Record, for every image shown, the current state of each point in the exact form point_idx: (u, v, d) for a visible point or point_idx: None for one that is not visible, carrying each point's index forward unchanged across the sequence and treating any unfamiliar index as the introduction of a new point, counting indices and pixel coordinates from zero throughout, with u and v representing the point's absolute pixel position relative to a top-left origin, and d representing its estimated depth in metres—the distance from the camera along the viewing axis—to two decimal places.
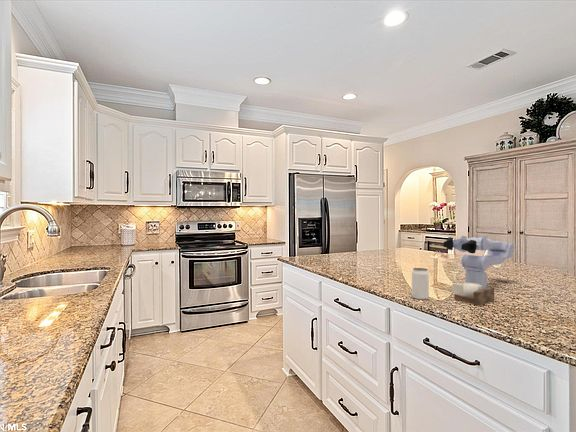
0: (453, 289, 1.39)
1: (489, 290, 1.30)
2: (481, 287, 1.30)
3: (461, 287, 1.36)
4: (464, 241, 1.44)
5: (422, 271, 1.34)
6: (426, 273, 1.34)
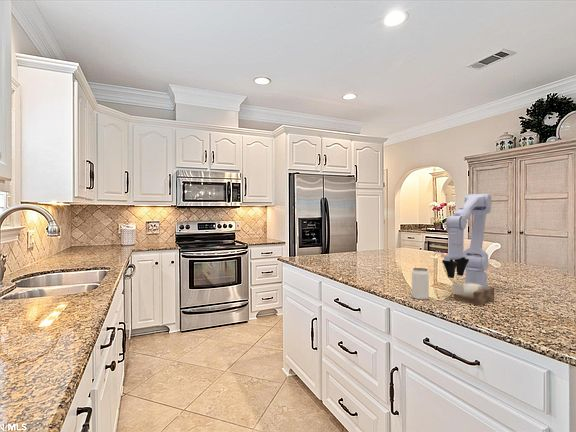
0: (453, 289, 1.39)
1: (489, 290, 1.30)
2: (481, 287, 1.30)
3: (461, 287, 1.36)
4: None
5: (422, 271, 1.34)
6: (426, 273, 1.34)
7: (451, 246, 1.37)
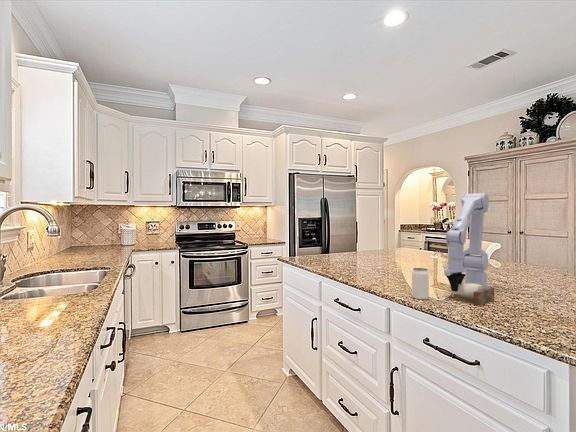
0: None
1: (489, 290, 1.30)
2: (481, 287, 1.30)
3: (461, 287, 1.36)
4: None
5: (422, 271, 1.34)
6: (426, 273, 1.34)
7: (451, 260, 1.37)
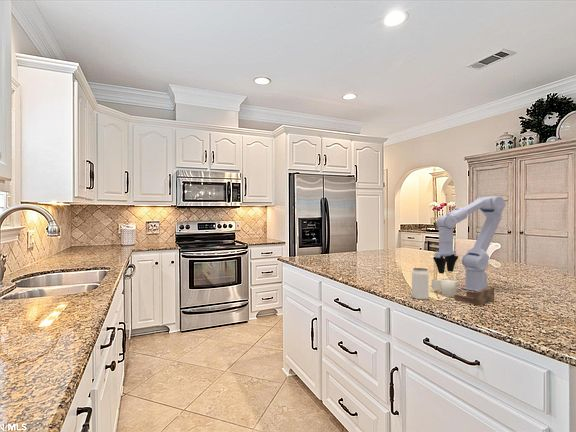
0: (432, 285, 1.46)
1: (489, 290, 1.30)
2: (457, 283, 1.38)
3: (439, 283, 1.43)
4: None
5: (422, 271, 1.34)
6: (426, 273, 1.34)
7: (441, 244, 1.47)
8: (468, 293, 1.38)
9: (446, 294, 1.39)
